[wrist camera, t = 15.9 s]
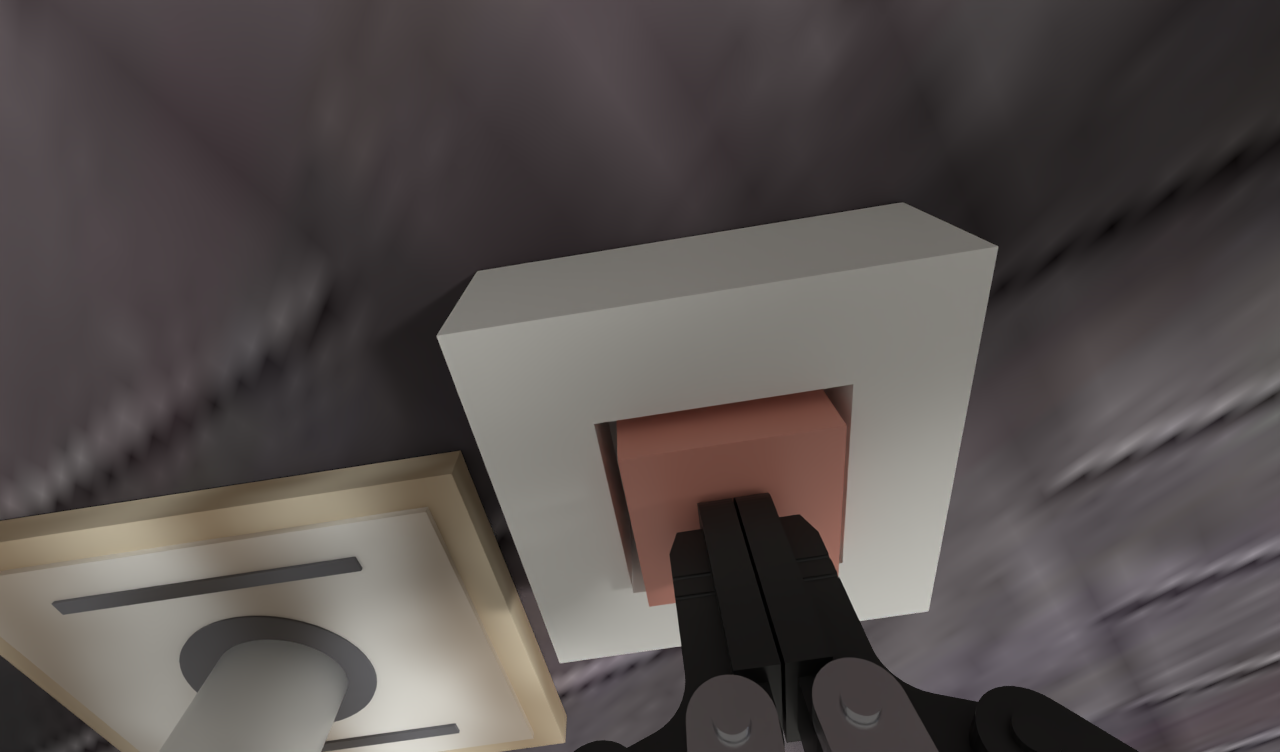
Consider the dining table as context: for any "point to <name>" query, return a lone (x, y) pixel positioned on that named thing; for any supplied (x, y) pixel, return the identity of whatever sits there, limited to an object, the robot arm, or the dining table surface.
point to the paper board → (285, 606)
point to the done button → (730, 470)
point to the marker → (263, 701)
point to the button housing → (722, 393)
